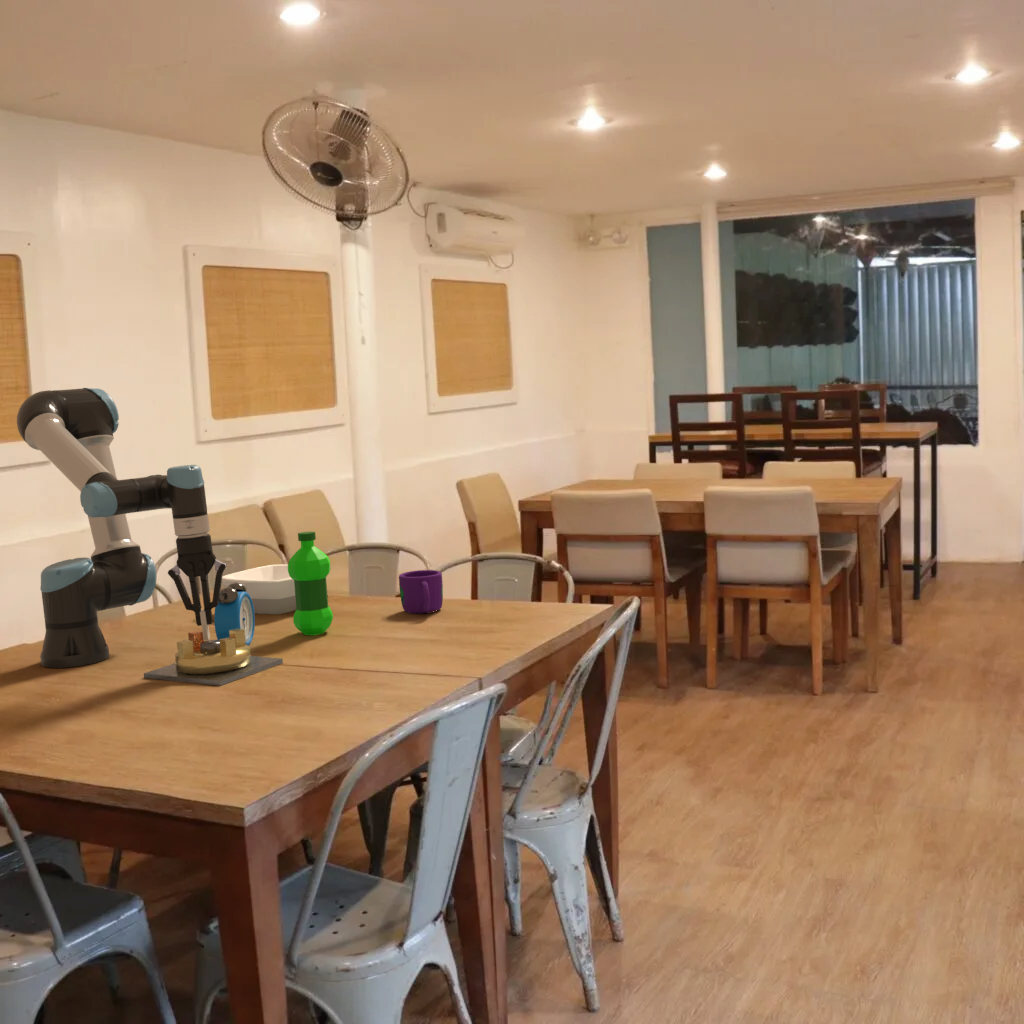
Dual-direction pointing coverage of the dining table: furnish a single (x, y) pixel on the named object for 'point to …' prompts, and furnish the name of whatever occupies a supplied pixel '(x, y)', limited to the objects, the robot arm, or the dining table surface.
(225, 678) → the spindle plate
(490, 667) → the dining table surface
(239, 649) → the notched brass disc
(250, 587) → the bowl
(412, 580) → the mug
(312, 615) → the plastic bottle
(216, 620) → the alarm clock
